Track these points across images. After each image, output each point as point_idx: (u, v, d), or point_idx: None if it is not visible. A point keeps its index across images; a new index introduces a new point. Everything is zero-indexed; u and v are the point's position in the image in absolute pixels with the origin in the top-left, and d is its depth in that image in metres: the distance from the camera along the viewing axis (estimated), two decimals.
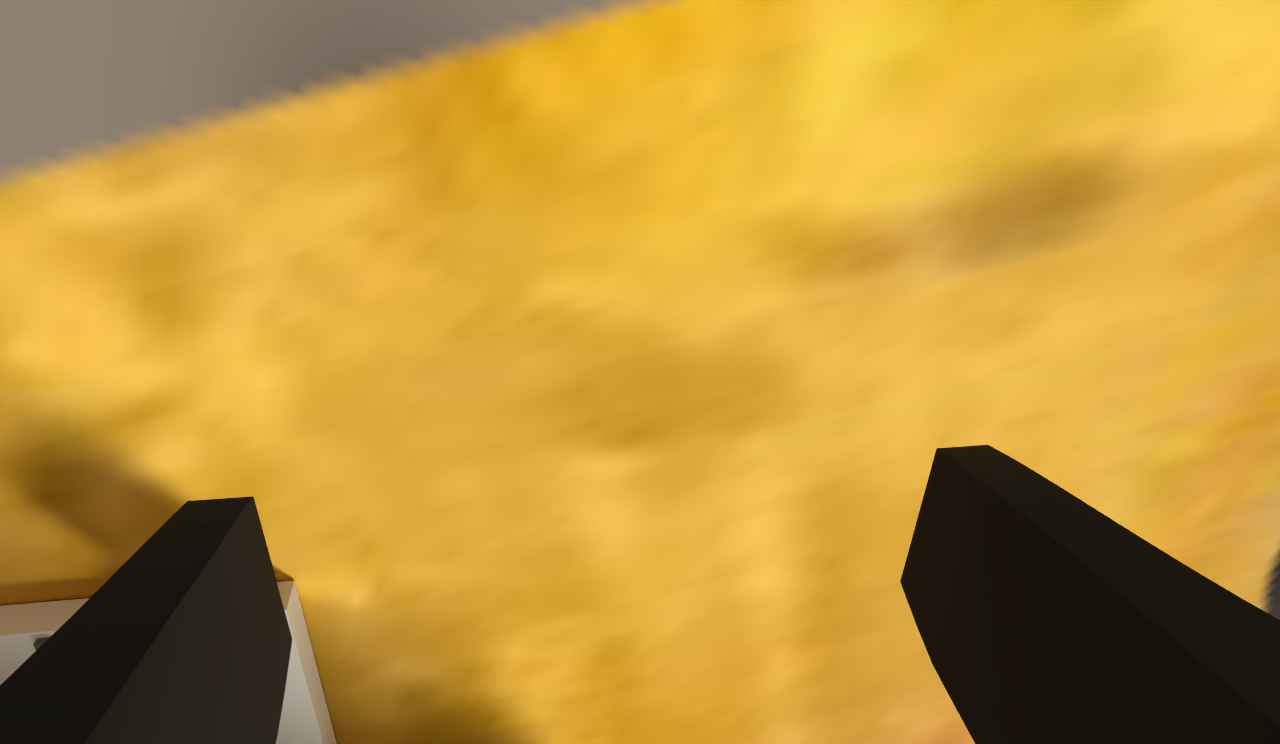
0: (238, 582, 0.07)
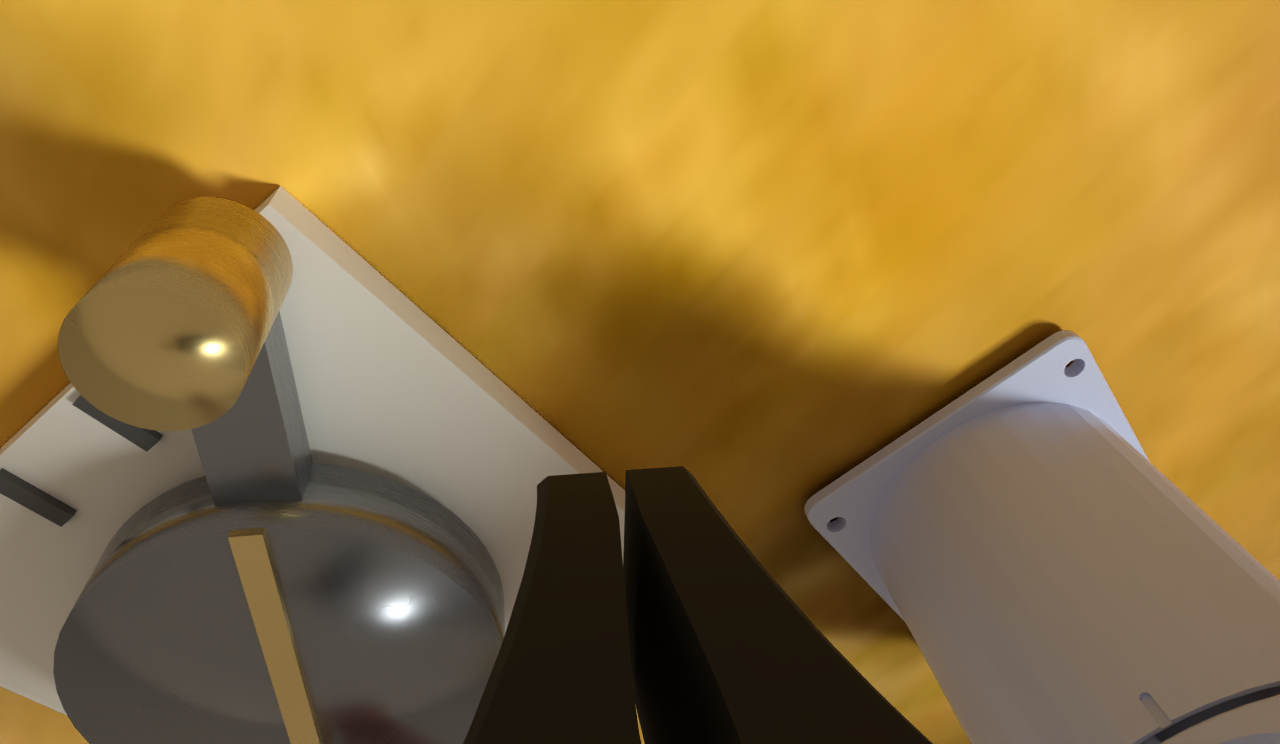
0: None
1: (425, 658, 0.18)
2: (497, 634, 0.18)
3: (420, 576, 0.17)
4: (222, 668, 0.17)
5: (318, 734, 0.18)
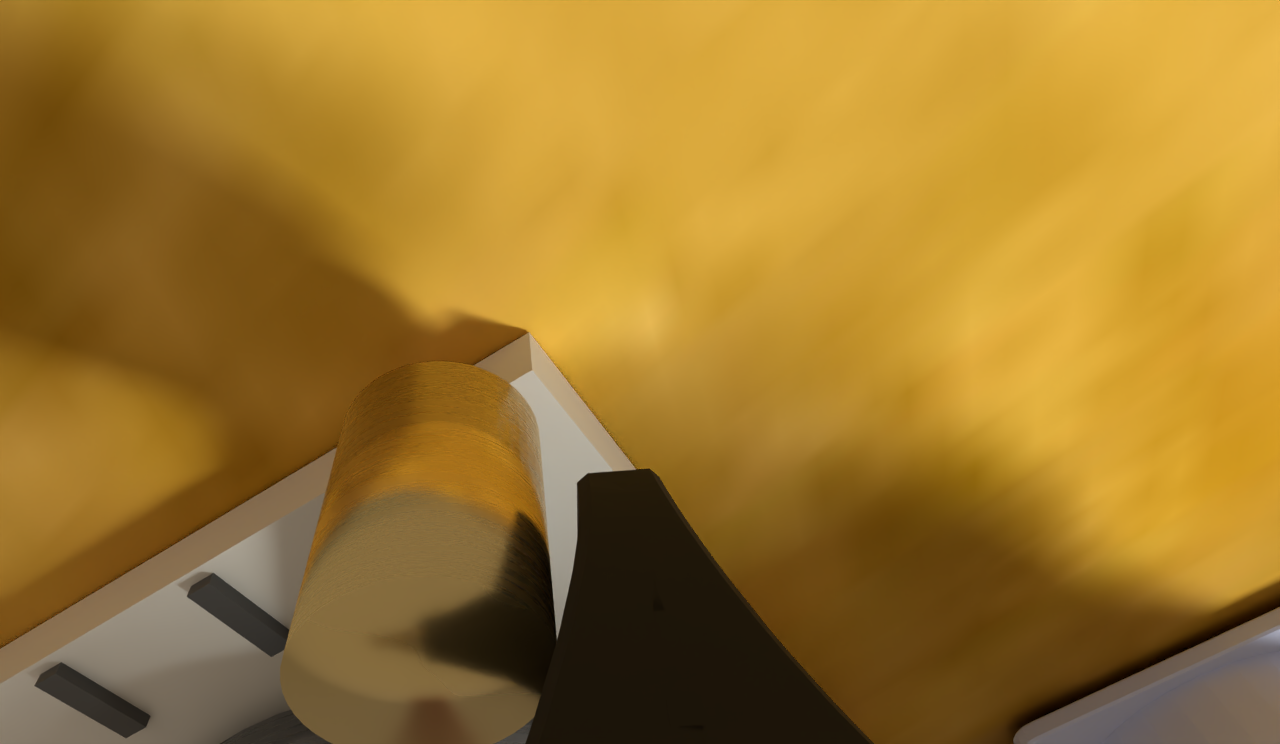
0: None
1: None
2: None
3: None
4: None
5: None
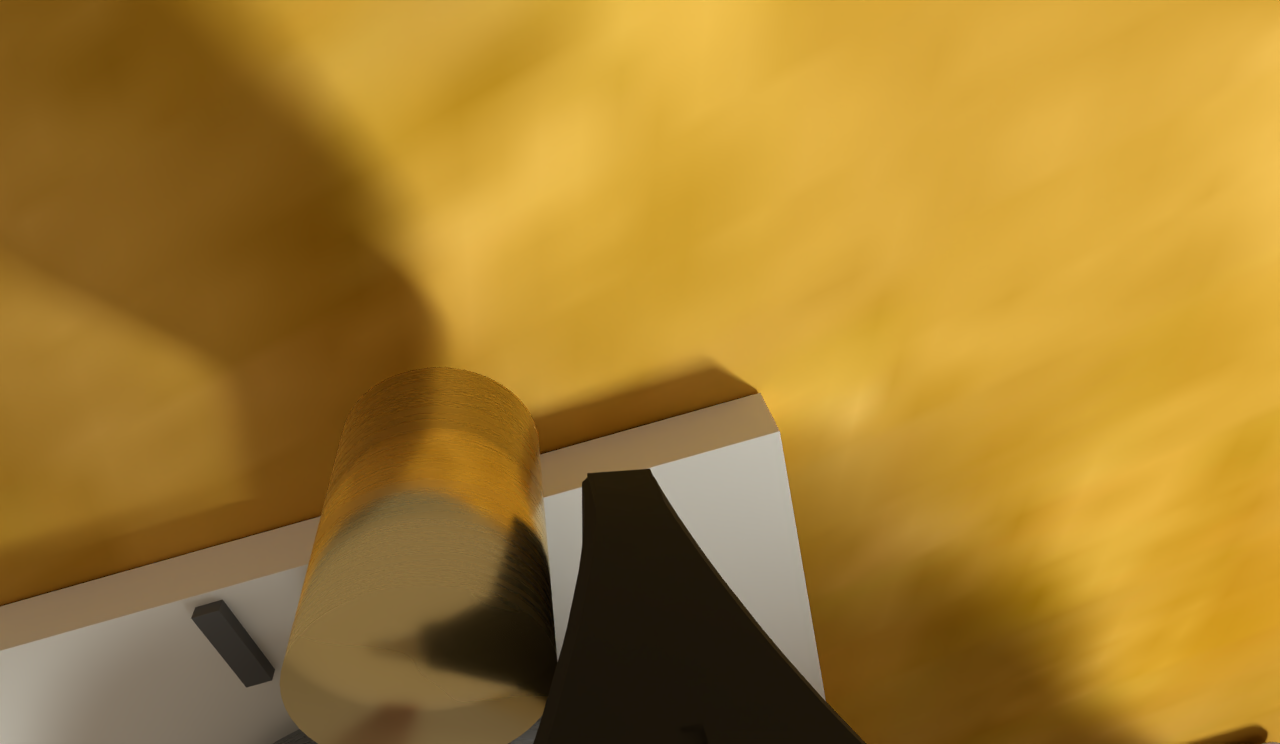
0: None
1: None
2: None
3: None
4: None
5: None
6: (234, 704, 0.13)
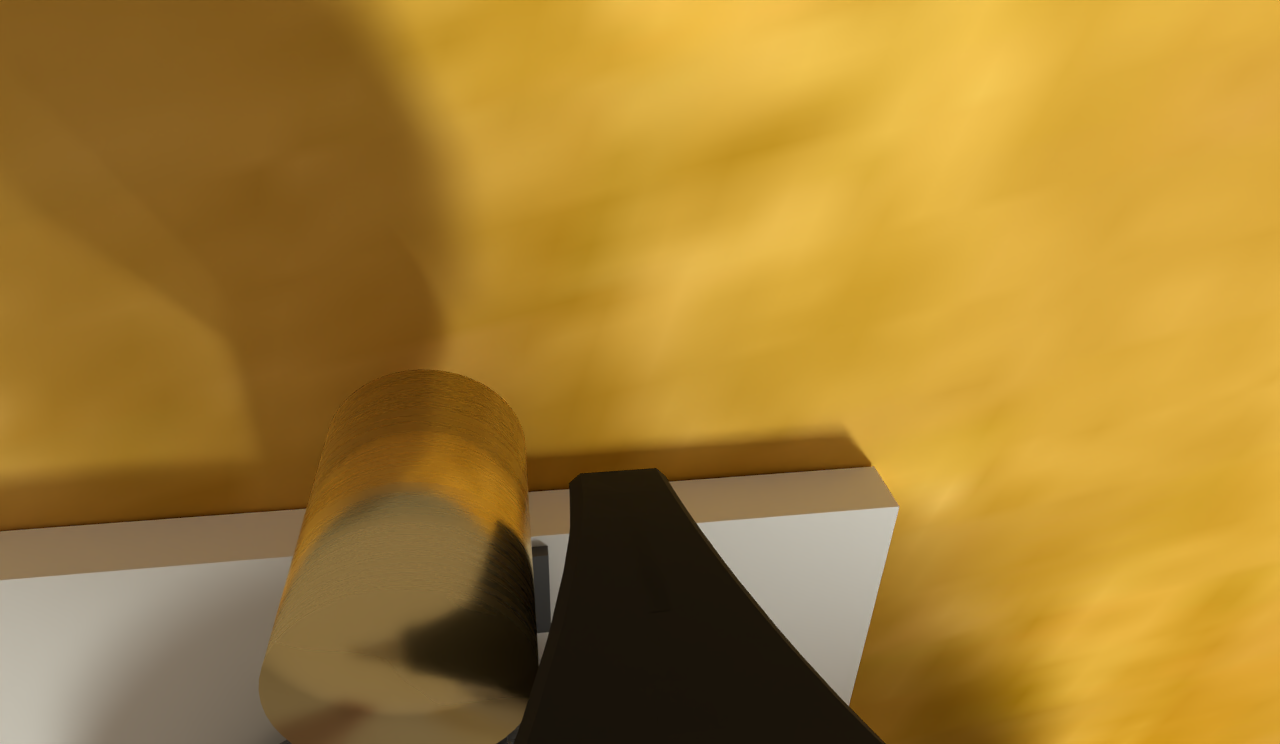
0: None
1: None
2: None
3: None
4: None
5: None
6: None
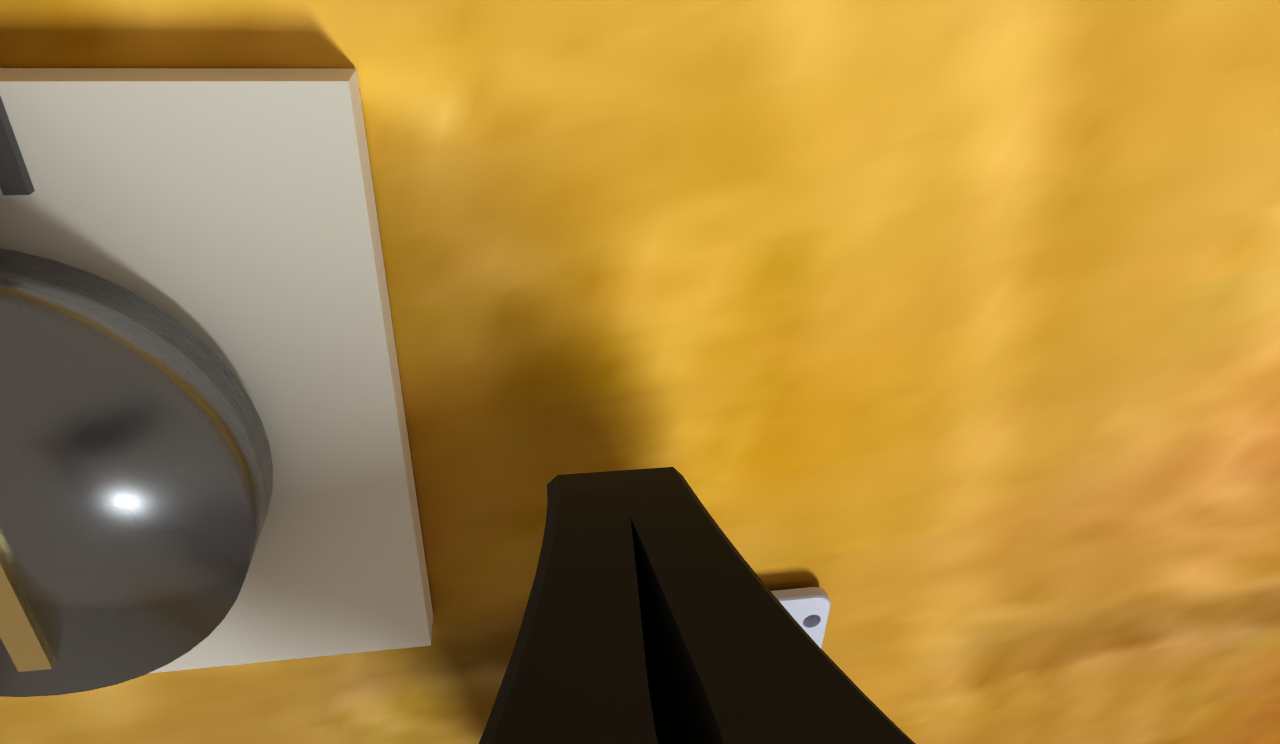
0: None
1: (138, 496, 0.15)
2: (227, 467, 0.15)
3: (107, 379, 0.13)
4: None
5: (18, 594, 0.15)
6: None
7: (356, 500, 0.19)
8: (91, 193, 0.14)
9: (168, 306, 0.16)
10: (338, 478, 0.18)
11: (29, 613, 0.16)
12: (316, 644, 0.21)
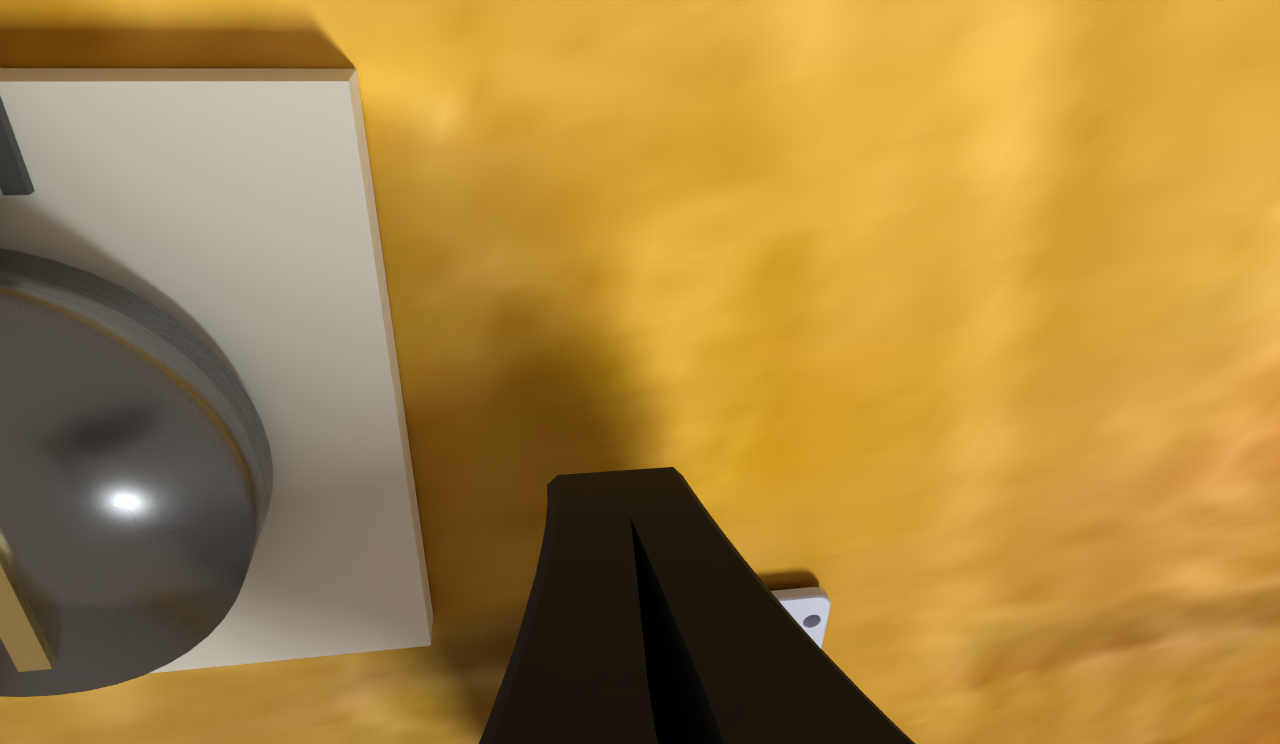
0: None
1: (138, 496, 0.15)
2: (227, 467, 0.15)
3: (107, 379, 0.13)
4: None
5: (18, 594, 0.15)
6: None
7: (355, 500, 0.19)
8: (91, 193, 0.14)
9: (168, 306, 0.16)
10: (338, 478, 0.18)
11: (29, 613, 0.16)
12: (316, 644, 0.21)
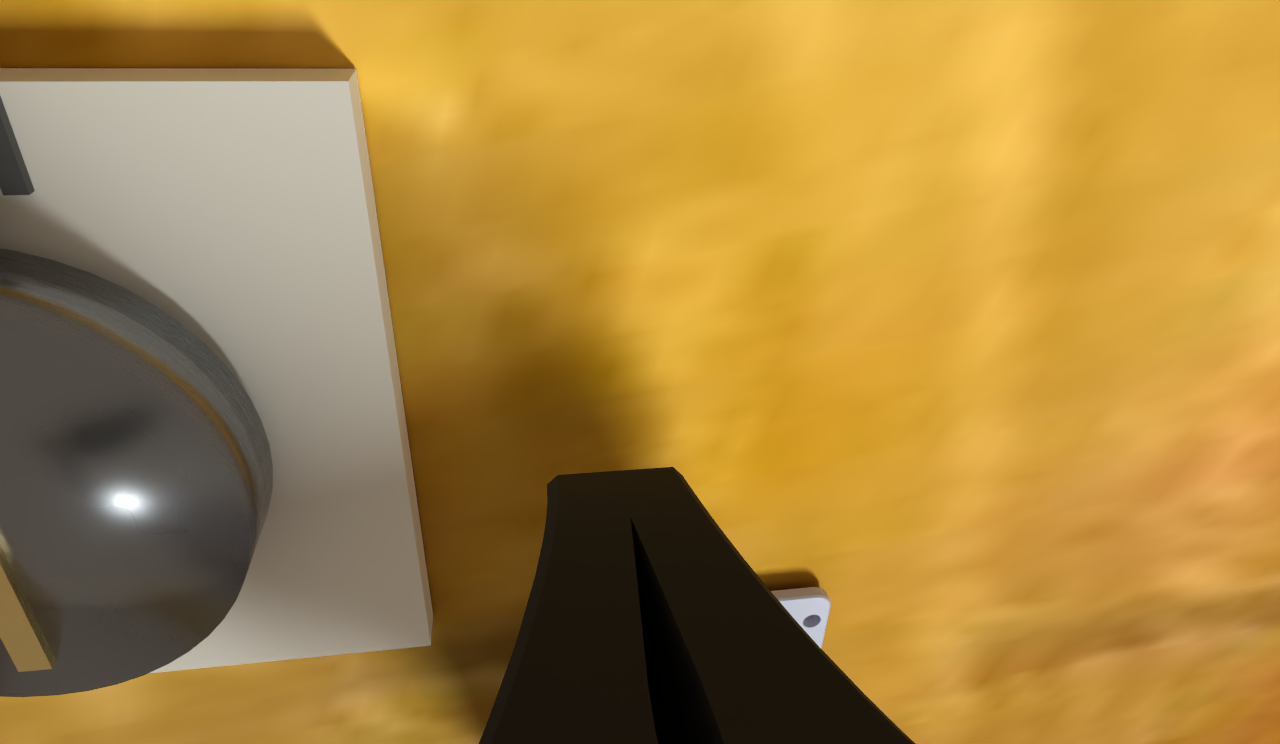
0: None
1: (138, 496, 0.15)
2: (227, 467, 0.15)
3: (107, 379, 0.13)
4: None
5: (18, 594, 0.15)
6: None
7: (355, 500, 0.19)
8: (91, 193, 0.14)
9: (168, 306, 0.16)
10: (338, 478, 0.18)
11: (29, 613, 0.16)
12: (316, 644, 0.21)
